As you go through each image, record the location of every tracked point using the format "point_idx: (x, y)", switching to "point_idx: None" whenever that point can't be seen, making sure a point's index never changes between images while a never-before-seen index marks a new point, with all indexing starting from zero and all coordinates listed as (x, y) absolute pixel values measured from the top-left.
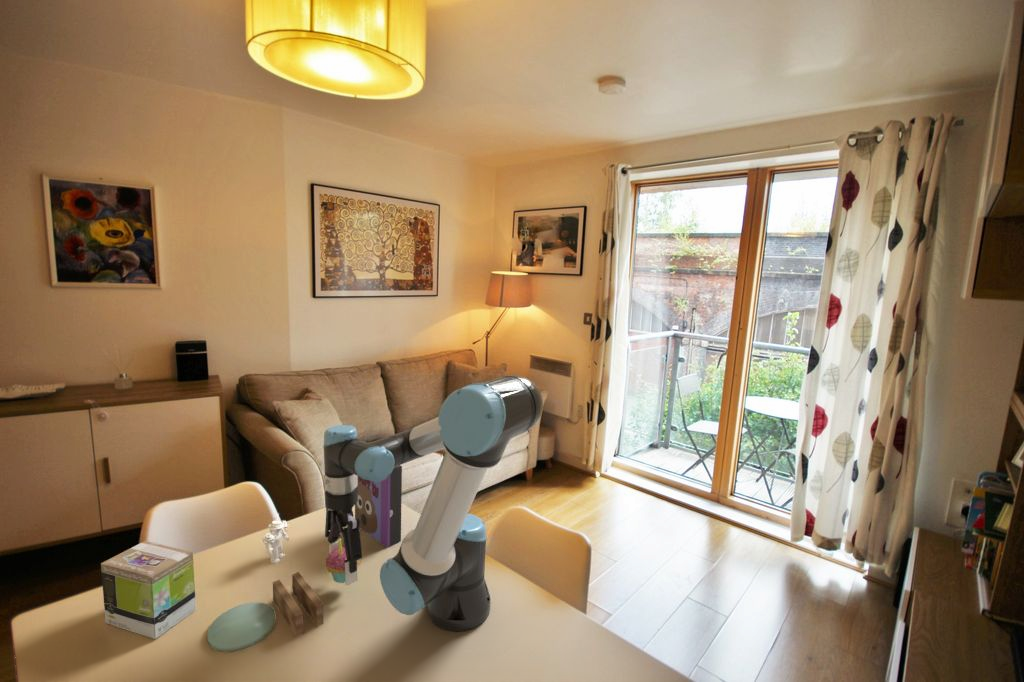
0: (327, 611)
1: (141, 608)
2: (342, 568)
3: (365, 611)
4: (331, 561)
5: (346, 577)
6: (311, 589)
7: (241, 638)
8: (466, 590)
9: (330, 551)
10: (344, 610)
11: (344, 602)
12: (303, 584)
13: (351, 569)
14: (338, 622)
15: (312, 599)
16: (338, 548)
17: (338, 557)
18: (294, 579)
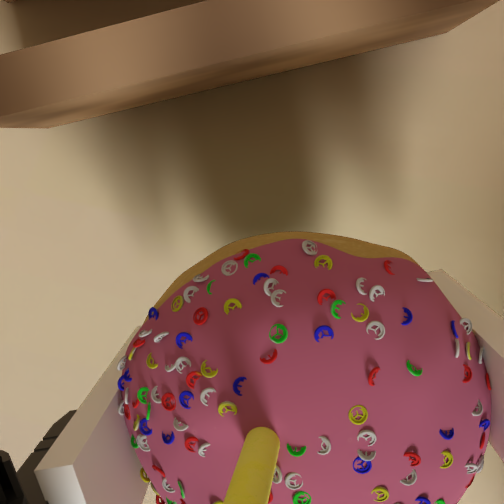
0: (141, 168)
1: None
2: (126, 372)
3: (56, 345)
4: (237, 308)
5: (119, 356)
6: (175, 67)
7: None
8: None
9: (495, 341)
10: (109, 254)
11: (174, 270)
12: (282, 9)
13: (43, 442)
14: (27, 205)
15: (40, 54)
16: (438, 444)
17: (218, 402)
18: None
